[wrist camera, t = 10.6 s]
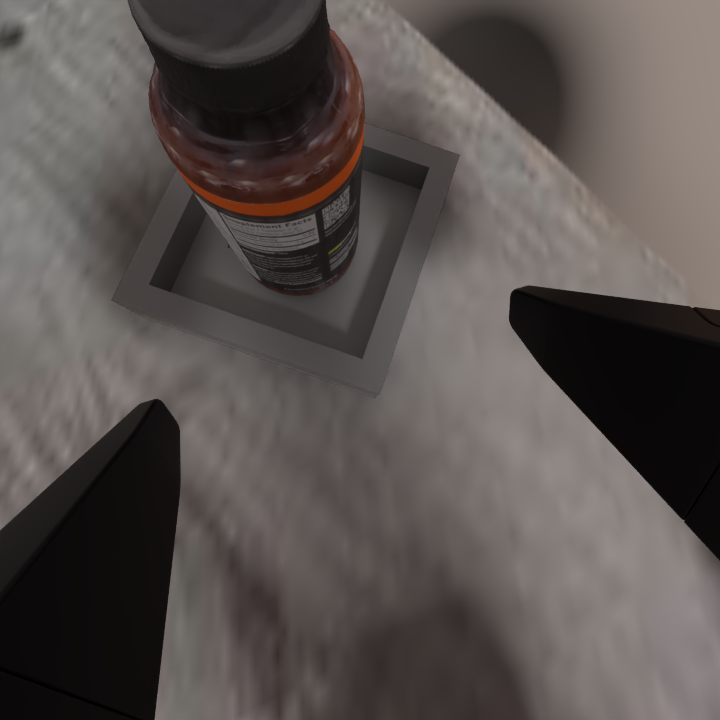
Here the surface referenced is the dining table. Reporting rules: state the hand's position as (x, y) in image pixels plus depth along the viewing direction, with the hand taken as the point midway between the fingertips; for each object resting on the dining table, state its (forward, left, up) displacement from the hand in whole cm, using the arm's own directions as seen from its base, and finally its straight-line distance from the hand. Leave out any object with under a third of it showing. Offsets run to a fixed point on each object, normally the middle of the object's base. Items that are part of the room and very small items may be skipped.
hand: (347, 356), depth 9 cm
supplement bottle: (+5, -6, -8) cm, 12 cm away
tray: (+5, -6, -9) cm, 12 cm away
